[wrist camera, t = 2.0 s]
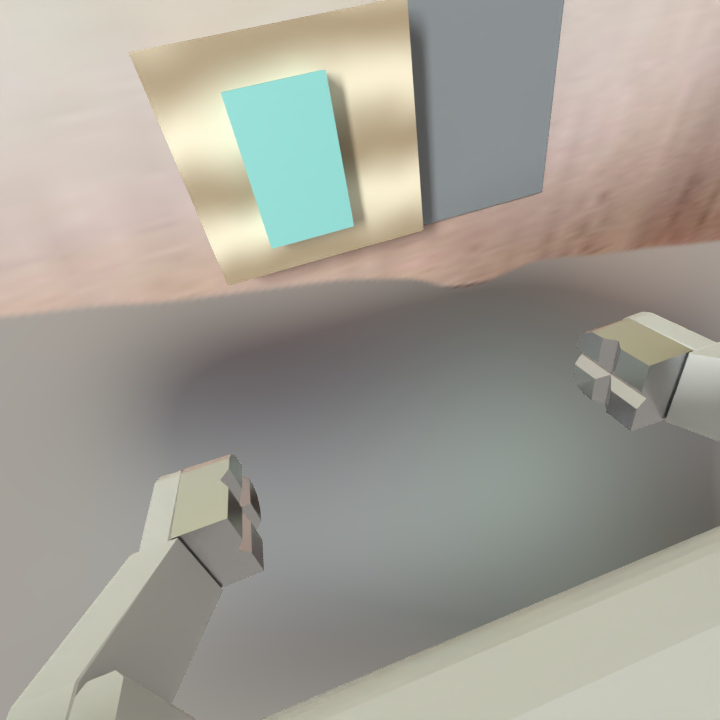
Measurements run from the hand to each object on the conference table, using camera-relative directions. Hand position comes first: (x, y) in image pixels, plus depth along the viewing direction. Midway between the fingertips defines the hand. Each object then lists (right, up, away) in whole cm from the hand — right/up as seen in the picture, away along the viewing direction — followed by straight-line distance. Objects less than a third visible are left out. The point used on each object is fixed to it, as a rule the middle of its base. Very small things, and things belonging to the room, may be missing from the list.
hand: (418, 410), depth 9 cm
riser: (-6, +17, +20) cm, 27 cm away
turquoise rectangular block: (-6, +14, +17) cm, 23 cm away
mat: (+8, +21, +22) cm, 32 cm away
